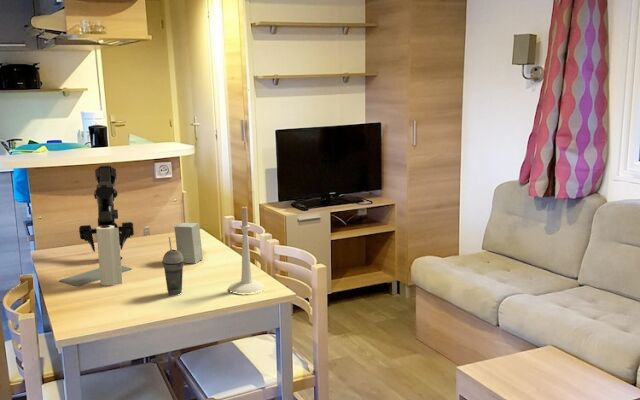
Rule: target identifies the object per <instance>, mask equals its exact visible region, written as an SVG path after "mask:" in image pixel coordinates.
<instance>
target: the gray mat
mask: <svg viewBox="0 0 640 400" xmlns="http://www.w3.org/2000/svg"><path fill="white" fill-rule="evenodd" d="M132 269H133V267H129V266H124V265H121V272H122V273H124V272H128V271H131V270H132ZM99 280H100V269H99V267H98V268H94V269H92V270H89V271H86V272H82V273H78V274H76V275H71V276H69V277H65V278H61V279H59V282H60V283H64V284H68V285H72V286H75V287H80V286H85V285H86V284H87V285H88V284H89V283H93V282H96V281H99Z"/></svg>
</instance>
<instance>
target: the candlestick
mask: <svg viewBox="0 0 640 400" xmlns="http://www.w3.org/2000/svg"><path fill="white" fill-rule="evenodd" d="M248 217H249V216H248V206H245V205H244V206H242V207H241V225H240V226H239V227H240V229H241V230H240V231H241V232H242V238H241V239H242V242H241V243H242V246H241V248H242V249H241V280H238V281H234V282H233V283H231V284H230V285H229V286H228V291H229V290H230V291H232V292H237V293H251V292H256V291H258V290H261V289H262V288H263V287H264V285H265V284H264V283H263V282H261V281H258V280H254V279H252V278H253V277H252V267H251V266H252V265H251V258H250V257H251V256H250V255H251V254H250V246H249V245H250V244H249V235H248V234H249V233H248V232H249V231H250V229H249V228H250V227H251V225H250V224H248V223H249V222H248V221H249V218H248Z"/></svg>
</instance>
